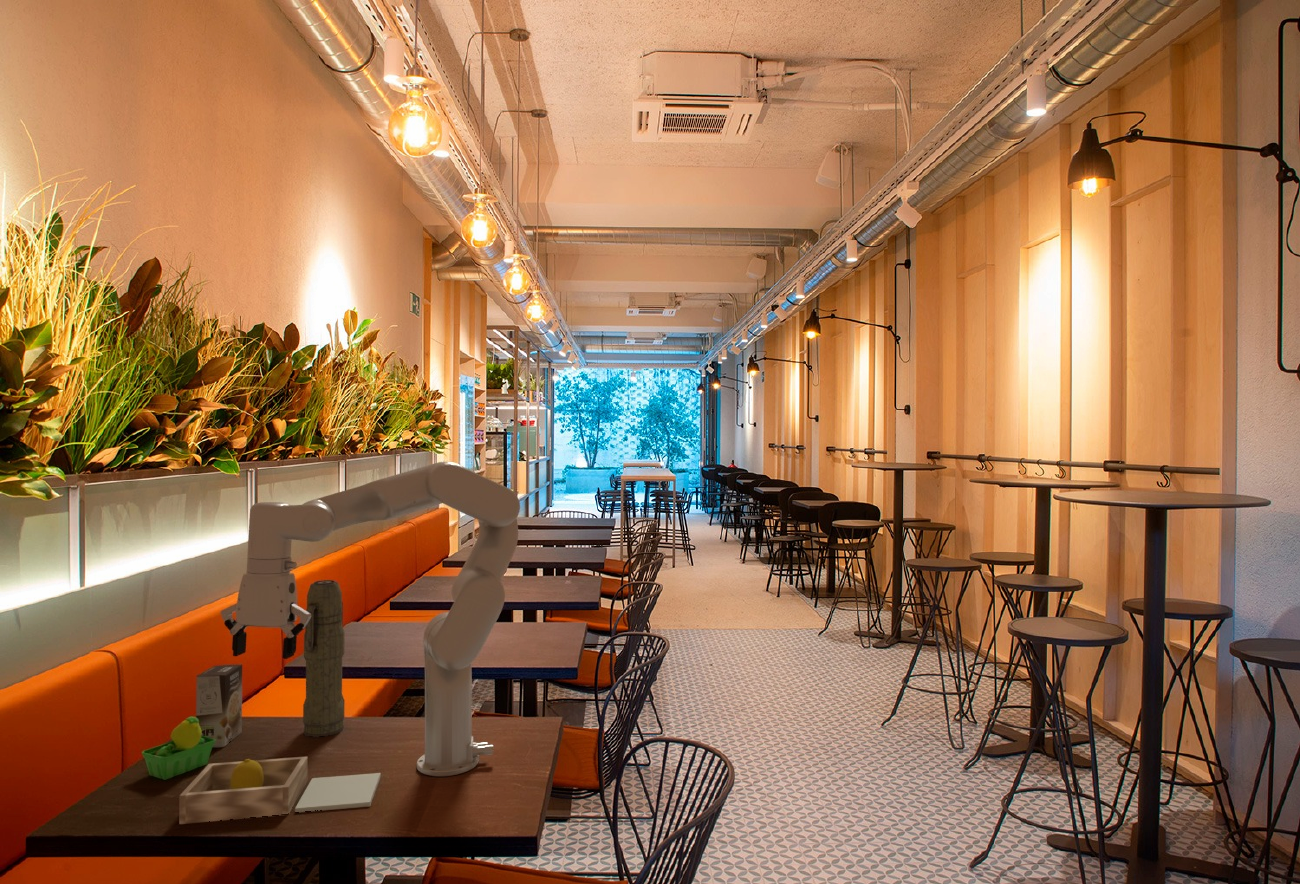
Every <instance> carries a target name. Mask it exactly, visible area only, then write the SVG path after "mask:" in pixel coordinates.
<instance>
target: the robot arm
mask: <svg viewBox="0 0 1300 884" xmlns="http://www.w3.org/2000/svg"><path fill="white" fill-rule="evenodd" d="M520 503H521V502H520V500H519V498H518V496H517V494H516V493H515V492H514V491H513V490H512V489H510V488H509V487H507V486H505V485H502V484H500V483H499V482H496V481H494V480H492V479H489V478H487V477H486V476H483V475H481V474H479V473H476V471H472V470H471V469H469V468H467V467H465V466H464V465H461V464H459V463H457V462H454V461H453V462H452V461H438V462H434V463H431V464H428V465H425V466H421V467H417V468H415V469H410V470H408V471H404V472H399V473H397V474H394V475H390V476H386V477H383V478H380V479H376V480H373V481H371V482H368V483H365V484H363V485H359V486H356V487H353V488H350V489H349V488H348V489H346V490H341V491H338V492H335V493H332V494H328V495H325V496H322V497H318V498H315V499H314V498H313V499H311V500H308V501H305V502H304V503H302V504H289V503H287V502H281V501H279V502H274V501H273V502H271V501H267V502H266V501H265V502H264V501H263V502H255V503H254V504H252V506H250V509H249V521H248V534H247V535H248V538H247V539H248V540H247V541H248V542H247V555H246V556H247V558H246V572H245V573H243V574H242V577H241V581H240V584H239V588H238V594H237V600H236V603H234V604H232V605H230V606H229V607H226V608H224V609H222V610H220V616H221V618H222V620H223V621H224V626H225V627H226V628H227V629H228V630H229V634H230V635H232V642H231V645H232V646H231V649H232V657H238V656H241V655H243V654H245V653H246V652H247V651H246V650H247V631H245V630H246V629H247V628H248V627H255V628H256V627H257V628H258V627H259V628H280V629H281V630H282V632H283V633H284V634H285V637H284V638H283V641H282V658H283V660H288V659H290V658H291V657H294V656H295V653H296V651H297V642H298V641H297V640H298V639H297V638H298V637H297V636H298V635H300V634H301V632H302V631H303V630H304V629H305V627H306V625H307V623H308V622H309V620H310V618H311V616H312V615H311V613H309V612H307V611H306V609H304V608H302V607H300V606H298V590H297V589H298V588H297V583H296V582H297V581H296V576H295V573H294V572H291V571H292V569H296V568H297V567H298V565H297V564H298V563H297V562H296V561H293V560H292V557H291V556H292V541H293V540H294V541H301V542H310V543H311V542H315V543H316V542H319V541H320V542H321V541H323V540H325V539H327V538H328V537H329V536H330V535H331V534H332V533H333V532H334V531H337V530H341V529H344V528H347V527H351V526H353V525H358V524H363V523H367V522H373V521H378V522H379V521H388V520H392V519H397V518H399V517H403V516H407V515H409V514H413V513H415V512H418V511H421V510H426V509H428V508H431V507H435V506H437V505H440V504H444V505H445V506H447V507H450V508H452V509H453V510H456V511H458V512H460V513H462V514H464V515H466V516H468V517H470V518H471V517H472V518H473V519H475V520H477V522H478V527H479V528H478V536H477V538H476V540H475V543H474V545H473V547H472V550H471V552H470V553H469V555H468V557H467V559H466V561H465V562H464V564H463V566H462V568H461V569H460V571H459V573H458V575H457V576H456V578H455V579H454V581H453V584H452V586H451V587H452V588H451V597H452V601H453V603H452V606H451V607H450V610H449V611H447V612H441V613H439V614H437V615H435V616H434V617H432V618H431V619H430V620H429V622H428V623H427V625H426V626H425V630H424V633H423V639H422V644H423V661H424V754H423V755H421V756H420V757H419V758H418V759H417V761H416V769H417V770H418V772H419V773H421V774H423V775H427V776H429V777H431V776H432V777H449V776H456V775H459V774H464V773H466V772H468V771H470V770H472V769H474V768H475V767H476V766H477V765H478V764H479V761H480V758H479V757H480V756H483V755H484V756H489V755H490V756H491V755H494V745H493V744H488V742H477V741H474V736H473V735H472V689H473V688H472V687H473V685H472V681H473V680H472V679H473V678H472V676H473V675H472V663H474V661H475V660H476V659H477V657H478V656H479V654H480V652H481V651H482V649H483V647H484V645H485V643H486V641H487V640H488V638H489V636H490V634H491V632H492V631H493V629H494V627H495V624H496V623H497V620H498V619H499V617H500V614H501V612H502V611H503V607H504V604H505V599H506V598H505V597H506V591H505V588H504V585H503V583H502V579H503V577H504V575H505V573H506V571H507V570H508V568H509V565H510V563H511V561H512V559H513V558H514V557H513V556H514V553H515V551H516V549H517V545H518V540H519V526H518V516H519V514H520V511H521V504H520ZM233 613H235V618H233ZM298 618H299V621H298V623H297V624H296V623H295V622H296V621H297V620H298Z"/></svg>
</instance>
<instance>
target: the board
mask: <svg viewBox="0 0 1300 884" xmlns="http://www.w3.org/2000/svg"><path fill="white" fill-rule="evenodd" d="M381 774H382V773H381V772H374V773H362V774H350V775H336V776H324V777H313V778H311V780H310V781H309V783H308V785H307V787H306V789H305V790H304V792H303V793H302V796H301V797H300V799H299V801H298V803H297V805H296V806H295V807H294V813H295V812H299V813H306V812H305V811H311V812H321V811H320V810H322V811H330V810H332V811H333V810H342V809H355V808H356V809H357V808H366V807H367V808H368V807H371V804H372V802H373V799H374V797H375V794H376V791H377V788H378V786H379V782H380V780H381V777H382V775H381ZM315 810H316V811H315ZM317 810H318V811H317Z"/></svg>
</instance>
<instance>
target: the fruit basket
mask: <svg viewBox="0 0 1300 884" xmlns="http://www.w3.org/2000/svg"><path fill="white" fill-rule="evenodd" d="M170 739H171V741H167V742H165V743H163V744H160V745H157V746H153V747H151V748H150V747H149V748H148V749H144V750H143V751H141V755H142V756H143V758H144V761H145V764H146V768H147V770H148V774H149V776H151V777H155V778H157V779H162V780H165V781H166V780H169V779H172V778H173V777H176V776H179V775H182V774H185V773H186V772H190V771H193V770H195V769H197V768H200V767H204V766H207V765H208V764H209V763H208V762H209V758H210V756H211V752H212V749H213V748H214V747H213V745H214V742H215V739H212V738H210V737H206V736H202V731H201V728H200V726H199V720H198V719H197V718H196V716H189V717H186V718H185V720H183V721H181V722H180V723H179V724H178V725H177V726H176V727H175V728H173V729H172V731H171V734H170Z"/></svg>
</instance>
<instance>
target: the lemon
mask: <svg viewBox="0 0 1300 884" xmlns="http://www.w3.org/2000/svg"><path fill="white" fill-rule="evenodd" d="M263 781H264V775H263V770H262V767H261V765H260V764H259V763H258V762H256V761H254V759H250V758H246V759H244V760H243V762H241V763H240V764H238V765H237V766H236V768H235V769H234V771H233V773H232V776H231V782H230V786H231V789H242V788H254V787H262V786H263Z"/></svg>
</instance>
